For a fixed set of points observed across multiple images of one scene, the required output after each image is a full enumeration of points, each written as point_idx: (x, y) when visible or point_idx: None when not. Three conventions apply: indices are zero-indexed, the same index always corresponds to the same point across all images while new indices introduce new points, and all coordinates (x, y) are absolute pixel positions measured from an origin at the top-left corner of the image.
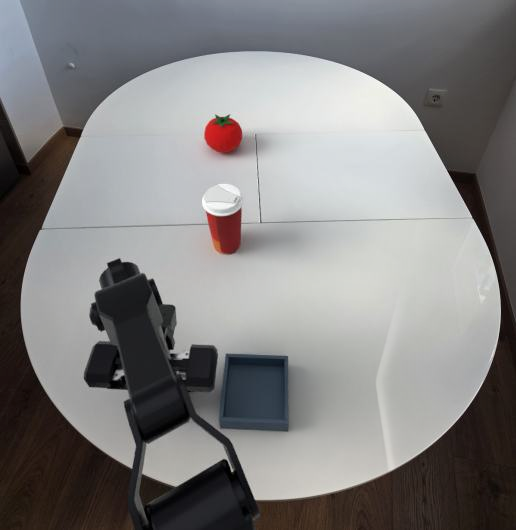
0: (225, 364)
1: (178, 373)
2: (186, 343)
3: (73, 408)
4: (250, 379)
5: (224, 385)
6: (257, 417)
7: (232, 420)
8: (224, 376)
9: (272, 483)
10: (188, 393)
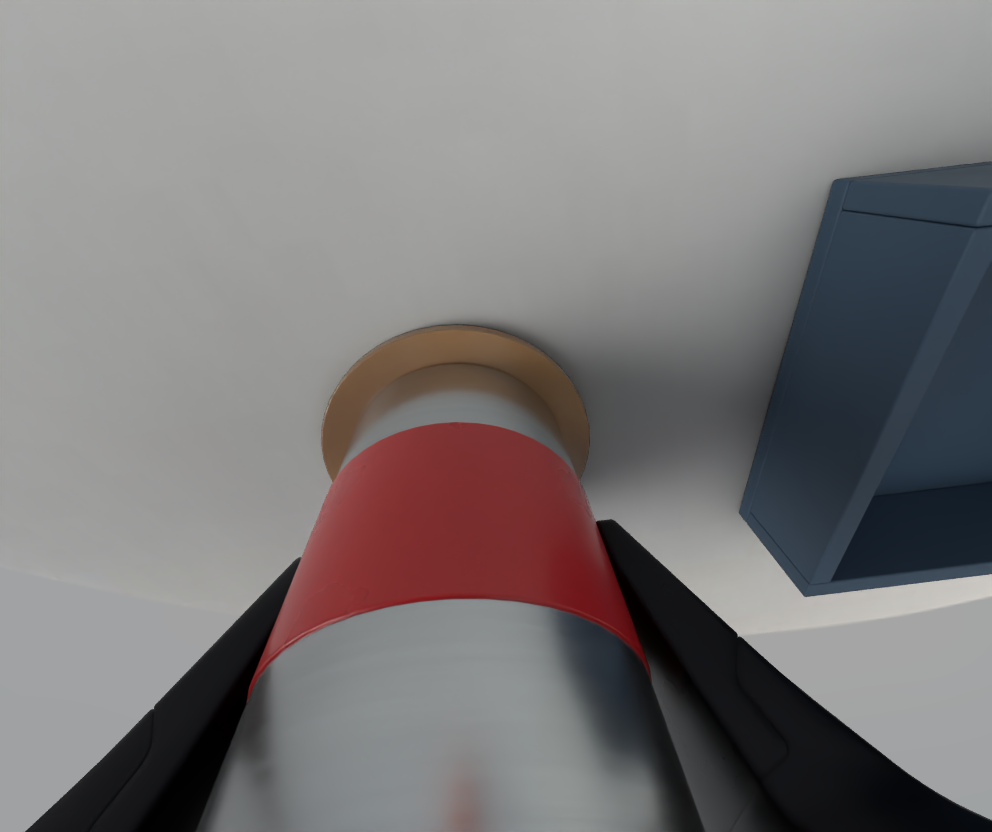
0: (950, 306)
1: (647, 667)
2: (485, 35)
3: (31, 556)
4: (976, 294)
5: (886, 453)
6: (927, 464)
7: (876, 586)
8: (905, 397)
9: (889, 600)
10: (582, 423)
